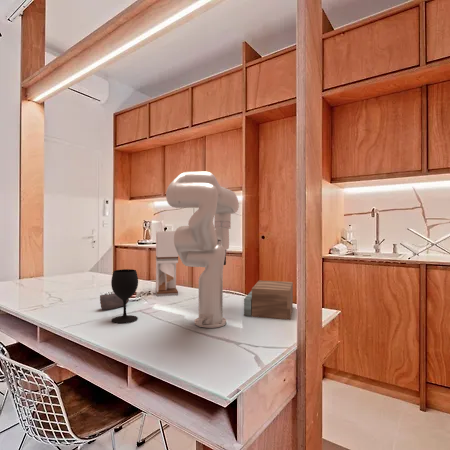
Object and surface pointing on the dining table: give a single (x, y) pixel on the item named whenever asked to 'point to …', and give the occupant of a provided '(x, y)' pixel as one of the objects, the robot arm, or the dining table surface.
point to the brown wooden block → (272, 299)
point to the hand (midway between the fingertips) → (222, 264)
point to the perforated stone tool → (110, 301)
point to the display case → (166, 264)
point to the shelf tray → (248, 304)
